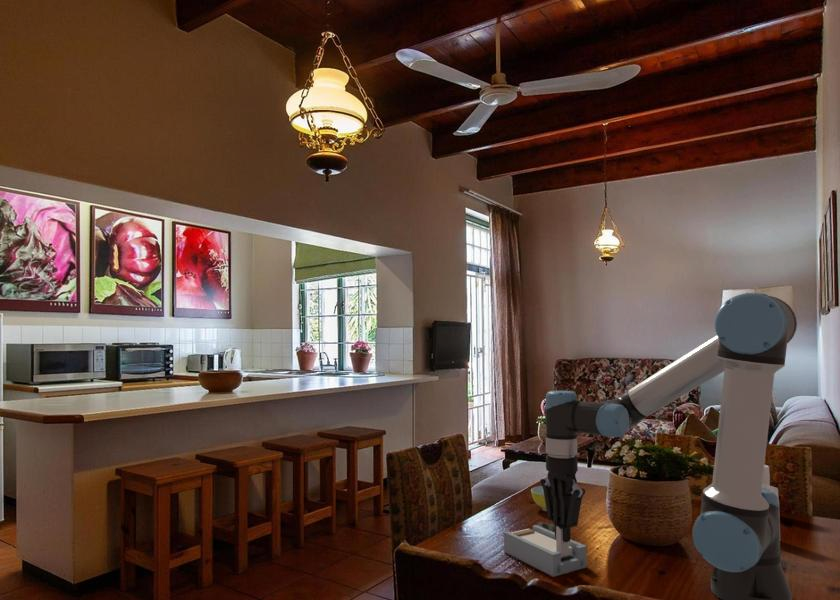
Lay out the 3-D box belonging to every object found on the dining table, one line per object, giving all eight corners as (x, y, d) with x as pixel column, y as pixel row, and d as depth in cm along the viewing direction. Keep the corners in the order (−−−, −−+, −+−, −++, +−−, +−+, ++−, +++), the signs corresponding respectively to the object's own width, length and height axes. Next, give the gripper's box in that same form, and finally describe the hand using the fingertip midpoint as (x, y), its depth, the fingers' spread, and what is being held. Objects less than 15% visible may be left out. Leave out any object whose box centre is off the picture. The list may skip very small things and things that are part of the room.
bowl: (524, 506, 188) (524, 487, 188) (555, 503, 191) (555, 484, 192) (542, 516, 177) (541, 496, 177) (574, 513, 180) (574, 493, 181)
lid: (572, 554, 141) (572, 545, 141) (548, 561, 137) (548, 551, 137) (528, 535, 154) (528, 526, 154) (506, 540, 150) (506, 531, 150)
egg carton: (567, 549, 151) (567, 533, 151) (538, 547, 152) (538, 531, 153) (565, 535, 161) (564, 520, 162) (537, 533, 163) (537, 518, 163)
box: (586, 567, 139) (586, 545, 139) (553, 576, 133) (552, 554, 133) (536, 543, 154) (536, 524, 154) (504, 551, 148) (504, 532, 149)
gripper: (592, 458, 136) (594, 559, 134) (553, 448, 147) (555, 542, 145) (570, 461, 132) (571, 566, 130) (531, 451, 143) (532, 548, 142)
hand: (562, 553), depth 138 cm, fingers closed
